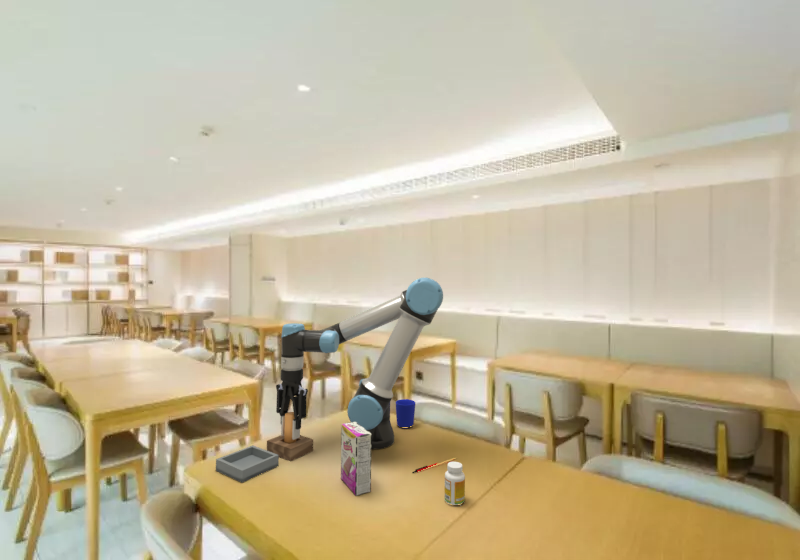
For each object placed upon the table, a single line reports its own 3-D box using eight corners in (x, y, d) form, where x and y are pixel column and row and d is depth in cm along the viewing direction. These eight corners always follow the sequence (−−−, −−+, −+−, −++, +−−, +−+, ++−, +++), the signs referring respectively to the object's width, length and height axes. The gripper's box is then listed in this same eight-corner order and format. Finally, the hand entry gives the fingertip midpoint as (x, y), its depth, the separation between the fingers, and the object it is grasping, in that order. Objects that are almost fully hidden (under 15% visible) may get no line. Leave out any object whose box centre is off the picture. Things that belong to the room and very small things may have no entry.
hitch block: (313, 450, 134) (313, 439, 134) (290, 461, 126) (290, 448, 126) (289, 442, 141) (289, 431, 141) (266, 452, 132) (266, 440, 132)
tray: (278, 466, 122) (278, 454, 122) (241, 482, 111) (242, 470, 111) (252, 455, 129) (252, 445, 129) (215, 470, 118) (216, 459, 119)
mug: (416, 420, 168) (416, 397, 168) (414, 430, 156) (414, 405, 156) (397, 419, 168) (397, 396, 169) (394, 429, 156) (394, 404, 157)
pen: (411, 473, 120) (411, 469, 120) (456, 458, 131) (456, 455, 131) (413, 474, 119) (413, 471, 119) (458, 459, 130) (458, 456, 130)
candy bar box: (339, 479, 115) (340, 423, 115) (354, 475, 117) (356, 420, 118) (355, 497, 105) (356, 436, 105) (371, 492, 108) (372, 432, 108)
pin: (298, 451, 134) (299, 413, 134) (289, 455, 130) (290, 416, 131) (290, 448, 136) (291, 411, 136) (281, 452, 133) (282, 414, 133)
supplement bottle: (466, 498, 106) (466, 462, 106) (462, 508, 100) (463, 470, 101) (446, 494, 107) (447, 458, 108) (442, 504, 102) (442, 467, 102)
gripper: (266, 366, 136) (264, 434, 135) (302, 373, 126) (300, 446, 125) (283, 363, 142) (281, 427, 141) (318, 370, 132) (317, 438, 132)
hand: (290, 436), depth 133 cm, fingers open, 5 cm apart
